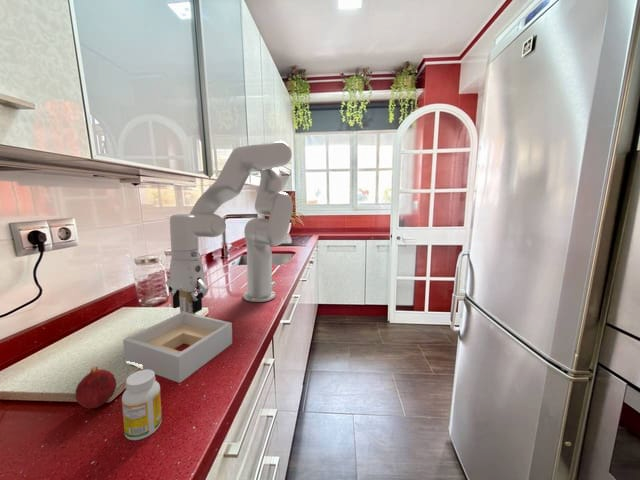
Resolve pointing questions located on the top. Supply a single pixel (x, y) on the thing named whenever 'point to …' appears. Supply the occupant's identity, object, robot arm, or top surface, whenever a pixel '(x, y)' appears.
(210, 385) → the top surface
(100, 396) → the onion
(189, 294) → the sprinkles bottle
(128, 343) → the open box
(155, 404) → the supplement bottle
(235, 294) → the top surface
